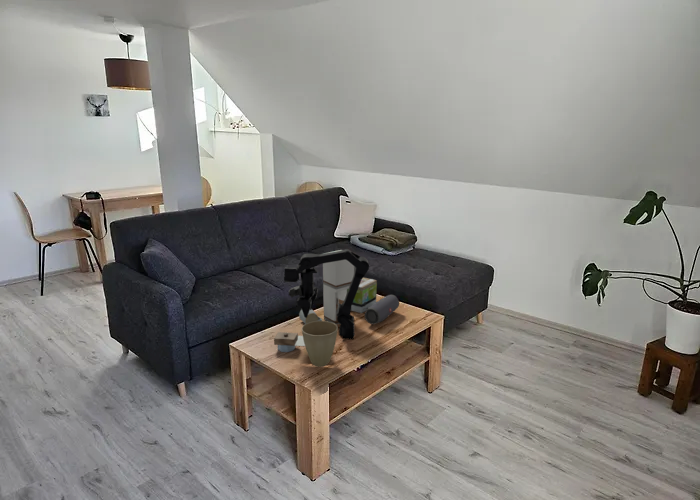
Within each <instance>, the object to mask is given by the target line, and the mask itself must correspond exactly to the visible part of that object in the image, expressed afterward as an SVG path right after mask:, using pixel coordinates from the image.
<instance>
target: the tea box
mask: <svg viewBox="0 0 700 500" xmlns="http://www.w3.org/2000/svg"><path fill="white" fill-rule="evenodd" d="M377 281H378V280H376V279H373V278H367V277H363V278H362V280H361V282H360V285H359V288H358V290H357V293H356V295H355V298H354V301H353V303H352V306H351V312H355V313H359V314H363V313H365V311H366V310H367V309H368V308H369V307H371V306H372V305H373V304H375V303H376V302H377V290H378V289H377V286H378V282H377Z"/></svg>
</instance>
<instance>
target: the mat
mask: <svg viewBox="0 0 700 500" xmlns="http://www.w3.org/2000/svg"><path fill="white" fill-rule="evenodd" d="M297 346H298V347H305V344H304V339H303V335H298V340H297V342H296V344H295V347H297Z"/></svg>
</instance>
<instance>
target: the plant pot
mask: <svg viewBox="0 0 700 500" xmlns="http://www.w3.org/2000/svg"><path fill="white" fill-rule="evenodd" d="M338 328H339V327H338V324H334V323H332V322H328V321H326V320H322V321H313V322H309V323H307V324H305V323H304V324H303V325H302V327H301V333H302V336H303V339H304V344H305V346H304V348H305V351H306V353H307V355H308V358H309V361H310V362H311V365H312V366H314V367H318V368H321V367H326V366H328V364H329V363H330V362H331V359H332V356H333V353H334V349H335V345H336V343H337V336H338V331H339V329H338Z"/></svg>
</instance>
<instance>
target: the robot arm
mask: <svg viewBox="0 0 700 500" xmlns="http://www.w3.org/2000/svg"><path fill="white" fill-rule="evenodd" d="M341 250H342V251H338V250H335V251H336V252H333V251H330V253H328V252H325V254H323V253H320V254H319V253H304V254H302V255H301V257H300V261H299V263H298V264H297V265H296V267H290V266H289V267H288V266H287V267H286V266H285V267H284V275H283V282H284V283H297V282H298V281H300V285H297V286H295V287H291V288H289V290H288V296H290V298H291V299H292V298H294V297H297V296H299V297H298V298H297V300H296V307H298V308H300V309H301V310H302V311H303V314H304V317H305V318H307V316H308V314H309V311H310V310H311V309H312V308H313V307H314V303H315V302H316V301H315V300H316V299H317V296H318V294H319V288H318V287H317V286H315V282H314V274H317V273H318V269H317V268H315V267H317V266H319V265H323V263H329V262H335V261H340V260H347V261H349V262H350V263H351V264H352V265H353V266H354V276H353V279H352V281H351V284H350V287H349V289H347V295H346V297H345V300H344V302H343V303H342V304H340V303H339V305H338V309H337V310H336V316H337V320H338V322H339V323H341V324H339V327H338V328H339V329H338V335H339V336H340V337H341V339H342V340H352V341H353V340H354V338H355V335H356V333H355V319H354V320H353V316H354V315H352V314H351V313H352V311H351V306H352V303H353V301H354V298H355V295H356V293H357V290H358V288H359V285H360V282H361V280H362V278H365V277H366V274H367V273H368V271H369V270H370V265H369V261H368V258H366V257H365V256H360V255H359V254H357V253H355V252H353V251H351V250H350V249H348V248H345V249H341ZM312 310H313V309H312Z"/></svg>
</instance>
